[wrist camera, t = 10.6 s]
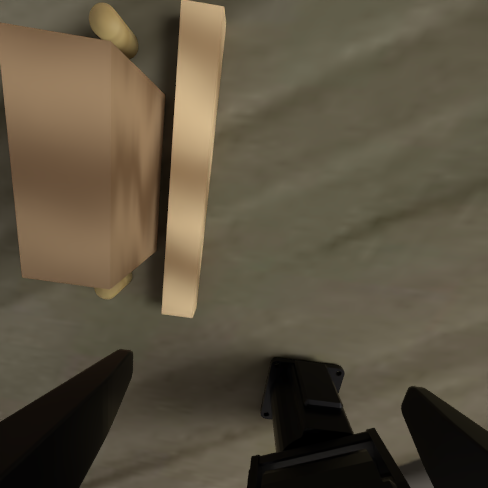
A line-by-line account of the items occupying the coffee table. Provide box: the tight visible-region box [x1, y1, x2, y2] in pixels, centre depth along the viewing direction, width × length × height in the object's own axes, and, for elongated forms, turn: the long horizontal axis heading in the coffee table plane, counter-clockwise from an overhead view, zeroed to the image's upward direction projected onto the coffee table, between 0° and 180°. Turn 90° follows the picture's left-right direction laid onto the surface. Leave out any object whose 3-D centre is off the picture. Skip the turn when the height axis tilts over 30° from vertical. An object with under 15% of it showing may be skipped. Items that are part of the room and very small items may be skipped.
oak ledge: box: [89, 0, 226, 318], centre depth 17 cm, size 20×7×2 cm, turn 172°
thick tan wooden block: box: [0, 23, 165, 289], centre depth 15 cm, size 11×5×7 cm, turn 172°
